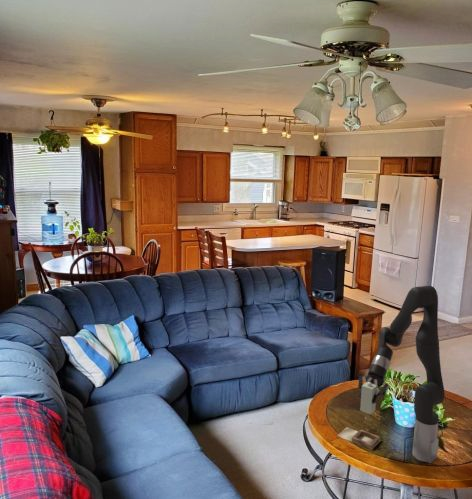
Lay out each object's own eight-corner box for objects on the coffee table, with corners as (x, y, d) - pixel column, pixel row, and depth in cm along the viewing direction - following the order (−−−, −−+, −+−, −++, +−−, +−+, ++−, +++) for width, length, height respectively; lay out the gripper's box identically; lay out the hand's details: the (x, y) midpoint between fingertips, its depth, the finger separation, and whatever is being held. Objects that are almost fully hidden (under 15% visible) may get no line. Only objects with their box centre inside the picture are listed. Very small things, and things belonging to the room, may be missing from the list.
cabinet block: (375, 410, 205) (377, 382, 203) (370, 414, 201) (372, 386, 199) (364, 406, 208) (366, 379, 206) (360, 410, 204) (361, 383, 202)
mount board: (380, 442, 208) (380, 436, 207) (371, 452, 200) (371, 446, 200) (346, 429, 219) (346, 423, 218) (336, 438, 211) (337, 432, 211)
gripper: (362, 359, 212) (349, 392, 205) (392, 368, 203) (380, 403, 196) (366, 366, 217) (354, 399, 209) (396, 375, 208) (384, 409, 200)
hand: (366, 400), depth 203 cm, fingers closed on cabinet block, 5 cm apart
